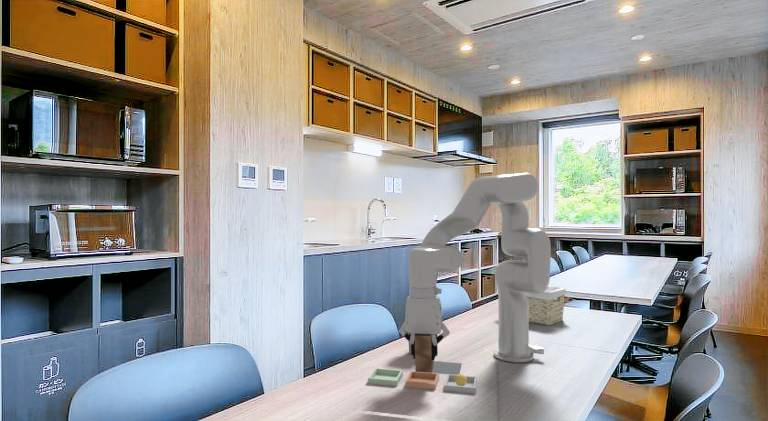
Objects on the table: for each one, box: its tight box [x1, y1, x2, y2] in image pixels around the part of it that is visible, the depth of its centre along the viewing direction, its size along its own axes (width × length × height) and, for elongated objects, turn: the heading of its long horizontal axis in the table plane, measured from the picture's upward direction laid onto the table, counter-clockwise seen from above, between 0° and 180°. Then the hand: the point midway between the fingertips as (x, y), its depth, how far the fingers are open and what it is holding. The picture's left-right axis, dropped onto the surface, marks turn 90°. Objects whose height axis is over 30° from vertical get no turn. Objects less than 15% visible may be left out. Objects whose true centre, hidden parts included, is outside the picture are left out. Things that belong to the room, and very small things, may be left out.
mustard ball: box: [455, 373, 467, 386], centre depth 121 cm, size 3×3×3 cm
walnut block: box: [414, 334, 435, 373], centre depth 124 cm, size 4×4×10 cm
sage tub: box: [367, 367, 404, 387], centre depth 126 cm, size 8×8×2 cm
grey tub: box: [443, 374, 478, 395], centre depth 121 cm, size 8×8×2 cm
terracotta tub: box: [404, 370, 440, 390], centre depth 123 cm, size 8×8×2 cm
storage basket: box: [524, 285, 567, 326], centre depth 197 cm, size 24×16×15 cm
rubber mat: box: [432, 360, 463, 375], centre depth 135 cm, size 10×10×1 cm
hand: (424, 357), depth 124 cm, fingers closed on walnut block, 4 cm apart
